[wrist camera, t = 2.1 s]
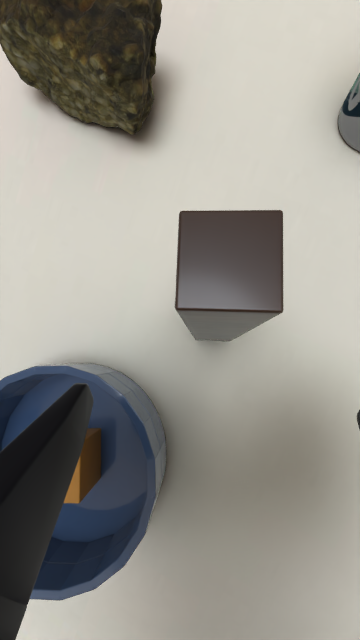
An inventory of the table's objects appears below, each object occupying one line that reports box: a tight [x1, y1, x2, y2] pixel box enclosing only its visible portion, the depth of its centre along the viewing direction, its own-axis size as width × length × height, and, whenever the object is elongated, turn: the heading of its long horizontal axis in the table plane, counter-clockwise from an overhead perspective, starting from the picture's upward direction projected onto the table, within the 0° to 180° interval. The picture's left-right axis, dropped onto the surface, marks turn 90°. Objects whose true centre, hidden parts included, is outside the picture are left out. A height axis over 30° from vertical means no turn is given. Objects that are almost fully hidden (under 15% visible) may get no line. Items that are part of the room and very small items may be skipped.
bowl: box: [0, 363, 166, 600], centre depth 18 cm, size 13×13×4 cm
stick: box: [175, 210, 283, 341], centre depth 14 cm, size 3×3×14 cm
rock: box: [0, 0, 162, 135], centre depth 21 cm, size 12×9×8 cm
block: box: [64, 428, 101, 503], centre depth 18 cm, size 3×3×3 cm
